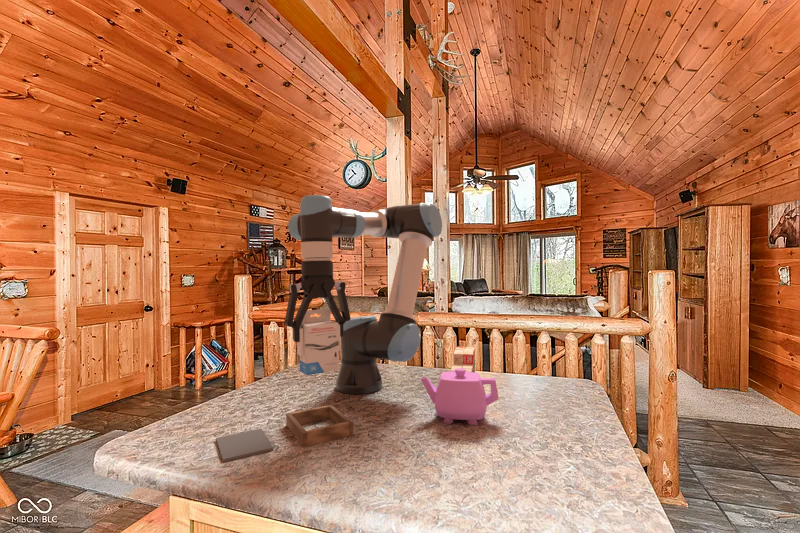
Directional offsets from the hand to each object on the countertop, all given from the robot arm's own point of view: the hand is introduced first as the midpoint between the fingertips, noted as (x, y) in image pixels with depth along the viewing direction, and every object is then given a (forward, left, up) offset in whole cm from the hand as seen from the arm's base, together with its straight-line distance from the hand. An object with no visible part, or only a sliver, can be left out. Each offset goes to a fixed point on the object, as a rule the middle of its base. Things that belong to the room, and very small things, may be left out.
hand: (319, 352), depth 97 cm
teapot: (-34, +12, -19) cm, 40 cm away
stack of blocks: (-49, -4, -19) cm, 53 cm away
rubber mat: (+17, -1, -19) cm, 26 cm away
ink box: (0, 0, -5) cm, 5 cm away
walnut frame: (0, 0, -19) cm, 19 cm away
